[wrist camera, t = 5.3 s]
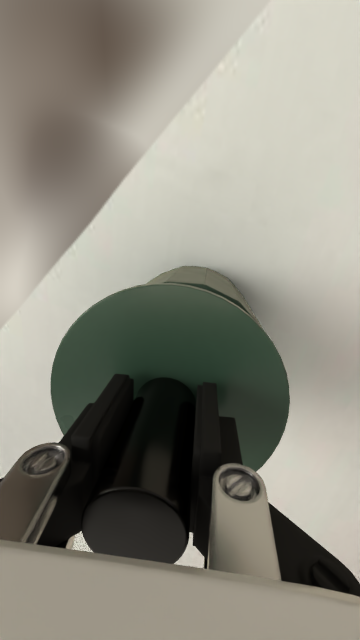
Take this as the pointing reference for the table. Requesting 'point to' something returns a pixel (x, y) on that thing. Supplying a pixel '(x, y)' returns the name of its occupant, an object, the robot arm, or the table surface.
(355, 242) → the table surface
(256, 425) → the trash can lid
